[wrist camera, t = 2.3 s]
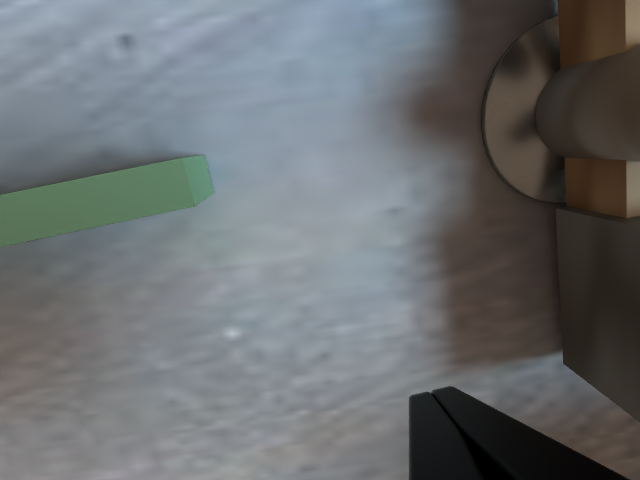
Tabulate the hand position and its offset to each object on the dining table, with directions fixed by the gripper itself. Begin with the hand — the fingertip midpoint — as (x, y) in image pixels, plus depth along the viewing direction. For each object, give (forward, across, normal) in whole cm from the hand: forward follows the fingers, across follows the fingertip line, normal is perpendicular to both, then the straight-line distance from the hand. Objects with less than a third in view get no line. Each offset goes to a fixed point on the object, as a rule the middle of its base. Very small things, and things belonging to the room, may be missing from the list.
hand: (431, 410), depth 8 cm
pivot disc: (+7, -8, -5) cm, 11 cm away
